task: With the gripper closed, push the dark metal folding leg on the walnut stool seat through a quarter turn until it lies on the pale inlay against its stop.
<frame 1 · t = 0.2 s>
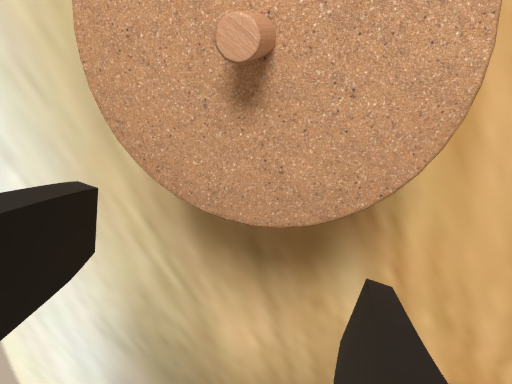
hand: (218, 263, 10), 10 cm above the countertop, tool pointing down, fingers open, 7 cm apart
lidded jar: (306, 30, 17), on the countertop
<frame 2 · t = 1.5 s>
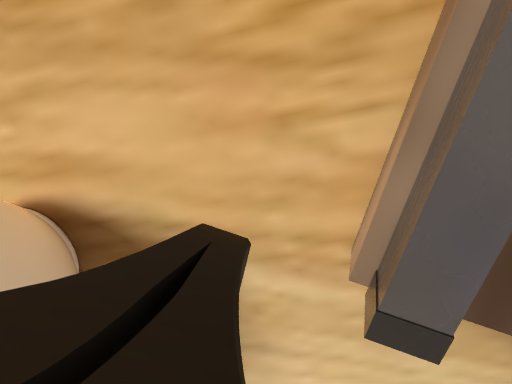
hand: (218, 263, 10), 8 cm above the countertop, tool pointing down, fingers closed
lidded jar: (37, 252, 24), on the countertop
folding leg: (465, 189, 12), point 4 cm above the countertop, hinge at 0.0°
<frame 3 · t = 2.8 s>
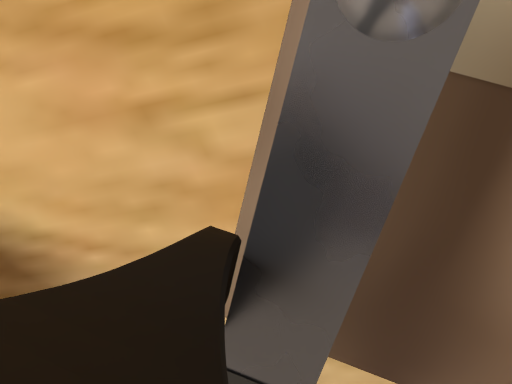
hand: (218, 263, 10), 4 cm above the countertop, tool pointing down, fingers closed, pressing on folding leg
folding leg: (319, 206, 9), point 4 cm above the countertop, hinge at 0.1°, touching gripper
stool seat: (475, 177, 12), on the countertop
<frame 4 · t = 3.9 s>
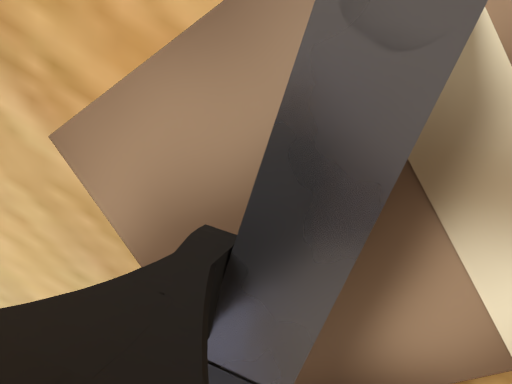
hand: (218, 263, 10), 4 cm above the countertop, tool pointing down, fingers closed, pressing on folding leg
folding leg: (310, 207, 9), point 4 cm above the countertop, hinge at 40.2°, touching gripper
stool seat: (330, 190, 13), on the countertop
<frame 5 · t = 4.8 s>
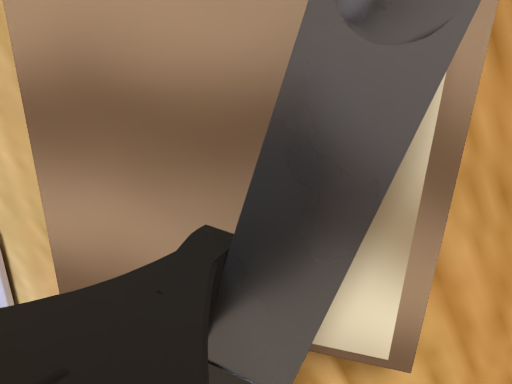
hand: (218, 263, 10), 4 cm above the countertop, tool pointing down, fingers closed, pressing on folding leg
folding leg: (308, 204, 9), point 4 cm above the countertop, hinge at 74.7°, touching gripper
stool seat: (242, 132, 13), on the countertop
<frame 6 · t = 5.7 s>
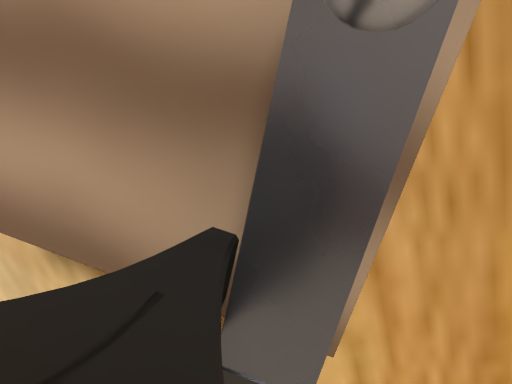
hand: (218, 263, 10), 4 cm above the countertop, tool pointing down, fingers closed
folding leg: (314, 202, 9), point 4 cm above the countertop, hinge at 91.1°, touching gripper
stool seat: (212, 98, 13), on the countertop
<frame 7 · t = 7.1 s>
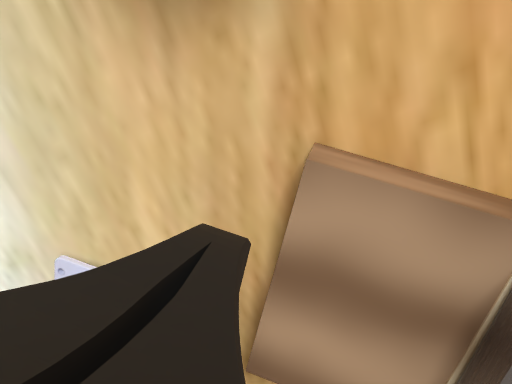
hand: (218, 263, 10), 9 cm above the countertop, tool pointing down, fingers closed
stool seat: (400, 291, 20), on the countertop
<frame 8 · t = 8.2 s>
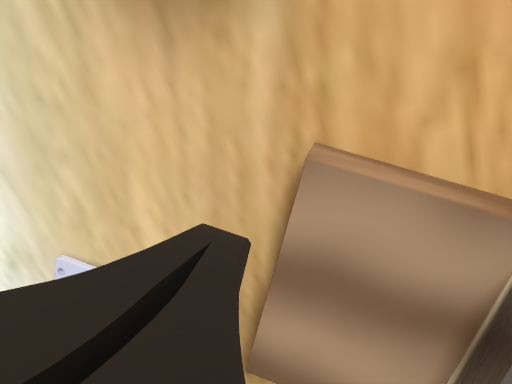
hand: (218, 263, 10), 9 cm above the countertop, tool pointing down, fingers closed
stool seat: (400, 291, 20), on the countertop
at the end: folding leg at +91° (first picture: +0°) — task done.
